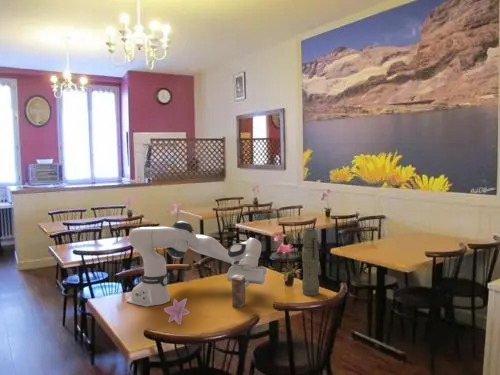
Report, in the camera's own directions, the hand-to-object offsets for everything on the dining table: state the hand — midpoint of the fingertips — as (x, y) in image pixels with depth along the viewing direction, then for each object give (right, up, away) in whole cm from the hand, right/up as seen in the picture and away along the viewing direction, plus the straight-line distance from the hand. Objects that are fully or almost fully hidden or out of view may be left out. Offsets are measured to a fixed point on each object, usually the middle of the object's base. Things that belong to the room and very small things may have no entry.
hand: (242, 289), depth 221 cm
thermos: (+37, -5, +13) cm, 39 cm away
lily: (-29, -9, -22) cm, 38 cm away
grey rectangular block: (-2, -7, -4) cm, 8 cm away
